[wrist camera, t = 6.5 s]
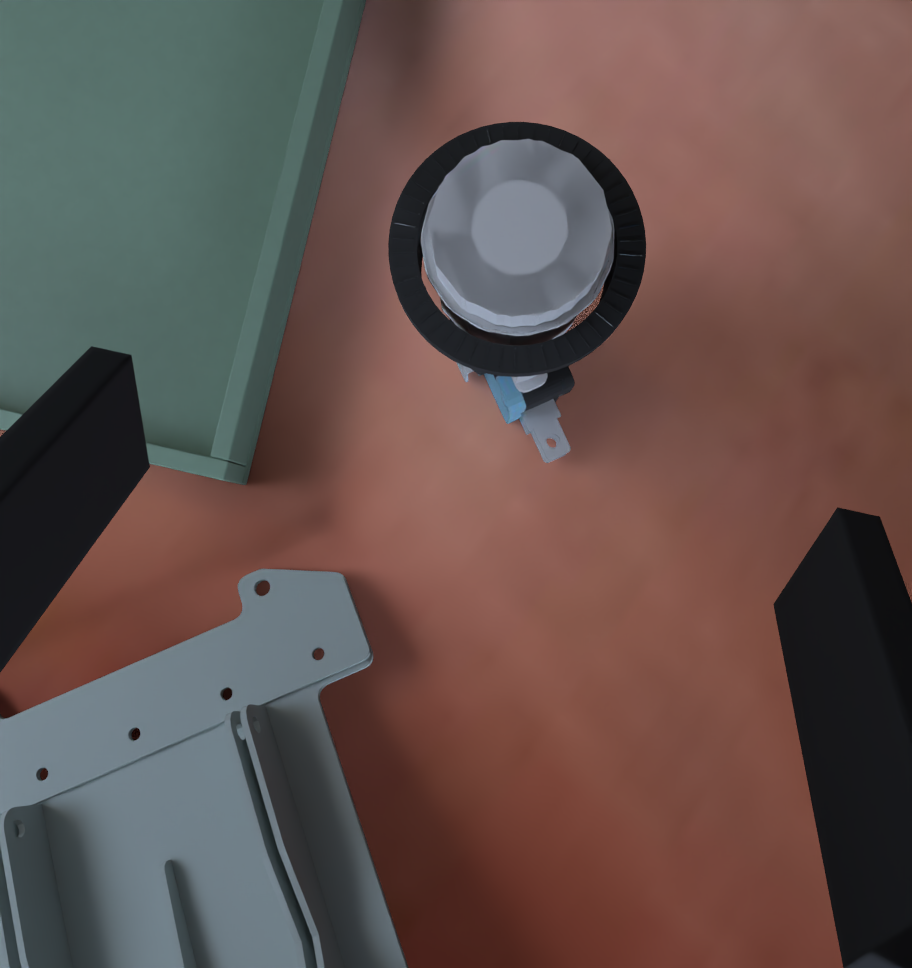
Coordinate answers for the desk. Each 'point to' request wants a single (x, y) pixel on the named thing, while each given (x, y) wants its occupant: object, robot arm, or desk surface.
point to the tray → (163, 201)
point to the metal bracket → (197, 804)
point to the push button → (518, 261)
